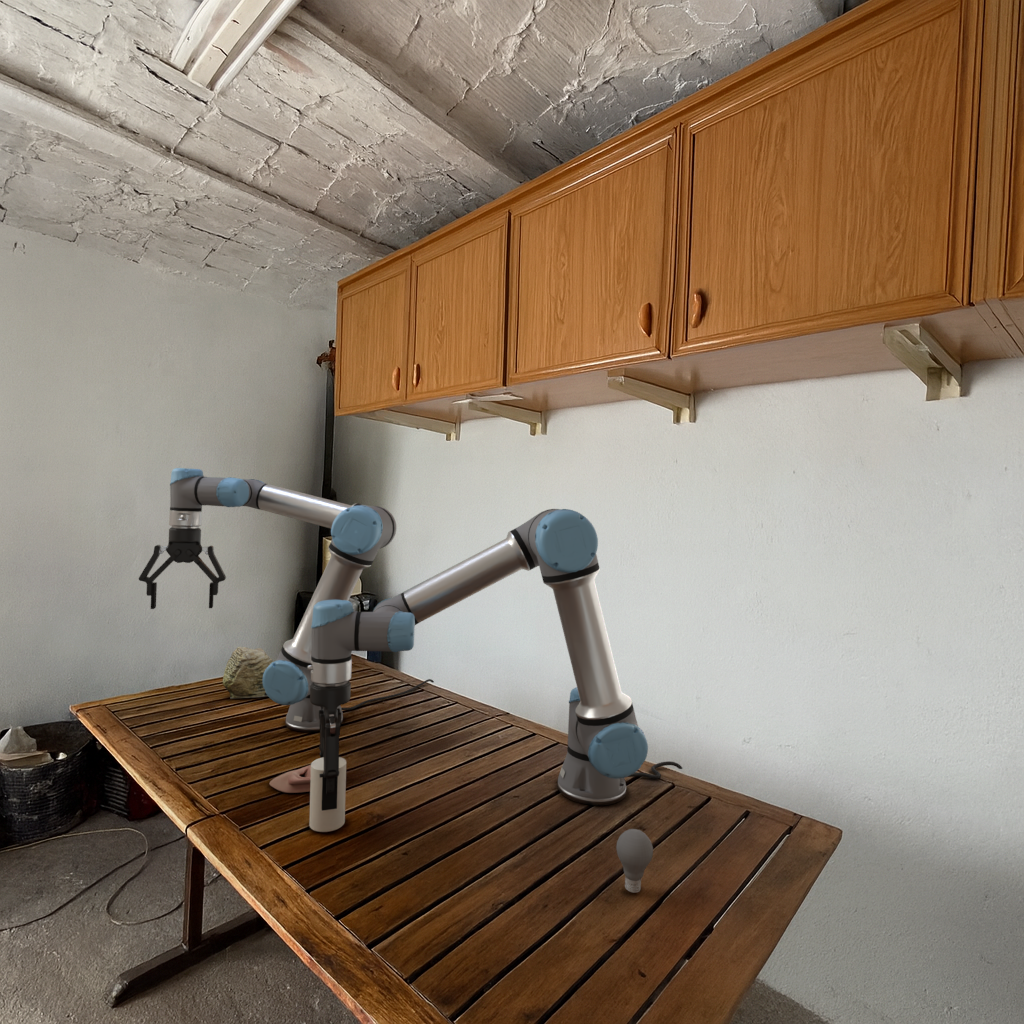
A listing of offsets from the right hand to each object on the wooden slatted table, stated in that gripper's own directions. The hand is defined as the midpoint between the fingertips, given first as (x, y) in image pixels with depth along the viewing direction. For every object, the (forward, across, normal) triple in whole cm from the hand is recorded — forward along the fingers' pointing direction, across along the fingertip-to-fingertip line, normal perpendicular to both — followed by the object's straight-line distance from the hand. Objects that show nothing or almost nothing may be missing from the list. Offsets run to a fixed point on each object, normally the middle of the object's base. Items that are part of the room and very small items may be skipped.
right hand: (327, 799), depth 122 cm
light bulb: (+6, +35, +46) cm, 59 cm away
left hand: (-28, -60, -33) cm, 74 cm away
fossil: (+5, -87, -16) cm, 88 cm away
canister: (+5, 0, 0) cm, 5 cm away
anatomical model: (+5, -20, -4) cm, 21 cm away
